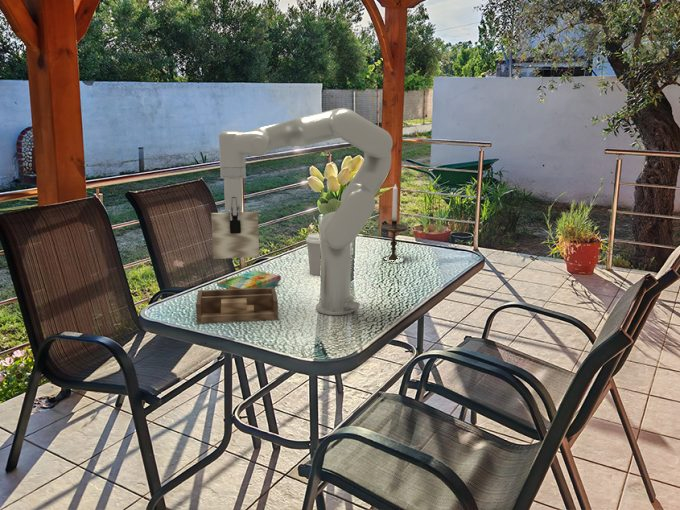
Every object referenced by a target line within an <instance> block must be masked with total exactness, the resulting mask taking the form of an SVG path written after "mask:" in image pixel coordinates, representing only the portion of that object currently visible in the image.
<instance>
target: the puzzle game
mask: <svg viewBox="0 0 680 510" xmlns="http://www.w3.org/2000/svg"><path fill="white" fill-rule="evenodd" d="M281 279H282V276H281V275H278V274H274V273H269V272H265V271H260V270H256V269H255V270H253V271H249V272H244V273H242V274H240V275H237V276H233V277H230V278H227V279H225V280H222V281H218V282H217V283H216V285H217V287H220V288H222V289H223V288H224V289H243V288H267V287H275V286H277V285H278V284H279V283H280V281H281Z"/></svg>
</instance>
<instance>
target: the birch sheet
mask: <svg viewBox="0 0 680 510" xmlns="http://www.w3.org/2000/svg"><path fill="white" fill-rule="evenodd" d="M210 216H211V217H210V219H211V238H212V239H211V241H212V255H213V257H212V258H213V260H216V259H242V258H243V259H244V258H247V259H248V258H260V244H259V243H260V242H259V236H260V234H259V212H258V211H242V212H241V211H239V219H240V224H241V233H234V234H231V233H230V212H210Z"/></svg>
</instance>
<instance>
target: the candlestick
mask: <svg viewBox="0 0 680 510" xmlns="http://www.w3.org/2000/svg"><path fill="white" fill-rule="evenodd" d="M397 180H398V178H397V177H395V179H394V181H393V182H394V186H393V187H392V209H391V210H392V211H391V212H392V213H391V214H392V215H391V219H389V221H390V222H391V223H386V224H382V225H381V226H380V230H382V231H384V232H390V233H391V234H392V236H391V237H392V239H391V241H390V242H389V243H390V246H391V248H390V250H391V254H390V255H387V256H383V257H382V259H383V260H384V261H387V260H385V259H384V258H386V257H388V256H390V257H389V260H396V259H398V258H397V256H398V255H396V250H397V249H398V248H397V247H396V246H397V245H398V242H397V241H396V238H397V237H396V234H397V233H401V232H406V231H408V225H404V224H399V223H398V222H399V221H400V219H397V218H398V193H399V192H398V187H397ZM391 262H392V261H391ZM393 262H394V261H393Z"/></svg>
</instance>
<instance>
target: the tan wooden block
mask: <svg viewBox="0 0 680 510" xmlns="http://www.w3.org/2000/svg"><path fill="white" fill-rule="evenodd" d="M249 313H254V305H247V300H246V298H239V299H221V315H228V314H249Z"/></svg>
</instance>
